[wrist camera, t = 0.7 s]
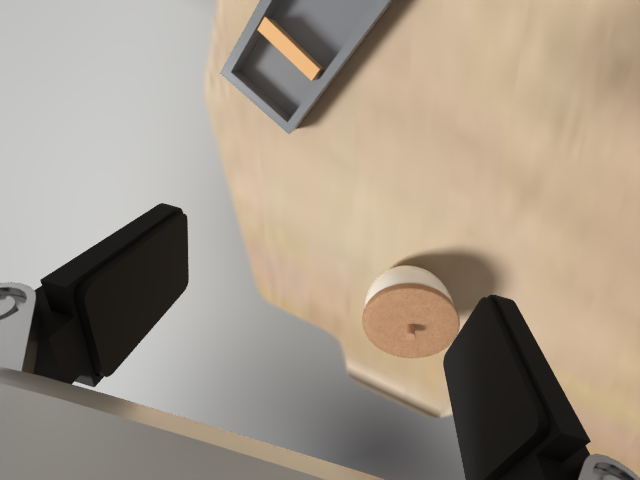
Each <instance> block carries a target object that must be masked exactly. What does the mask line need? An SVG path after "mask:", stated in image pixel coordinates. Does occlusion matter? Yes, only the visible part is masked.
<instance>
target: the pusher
mask: <svg viewBox="0 0 640 480" xmlns="http://www.w3.org/2000/svg"><path fill="white" fill-rule="evenodd" d="M257 30H258V31H259V32H260V33H261V34H262V35H264V36H265V37H266V38H267V39H268V40H269V41H270V42H271V43H272V44H273V45H274V46H275V47H276V48H277V49H278V50H279V51H280V52H281V53H283V54H284V55H285V56H286V57H287V58H288V59H289V60H290V61H291V62H292V63H293V64H294V65H295V66H296V67H297V68H298V69H299V70H300V71H301V72H303V73H304V74H305V75H306V76H307V77H308V78H309V79H310V80H311V81H313V80H317V79H318V78H319V76H320V75H321V73H322V72H323V71H324V68H323V67H322V66H321V65H320V64H319V63H318V62H317V61H316V60H315V59H314V58H313V57H312V56H311V55H310V54H309V53H308V52H307V51H306V50H305V49H304V48H302V47H301V46H300V45H299V44H298V43H297V42H296V41H295V40H294V39H293V38H292V37H291V36H290V35H289V34H288V33H287V32H286V31H285V30H284V29H283V28H282V27H281V26H280V25H279V24H278V23H277V22H276V21H274V20H272V19H269V18H267V17H264V19H263V21H262V22H261V24H260V26H259V28H258V29H257Z"/></svg>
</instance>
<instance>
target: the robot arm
mask: <svg viewBox="0 0 640 480" xmlns="http://www.w3.org/2000/svg"><path fill="white" fill-rule="evenodd" d="M187 229H188V228H187V216H186V215H185V214H183V211H182V209H181V208H178V207H175V206H171V205H167V204H163V203H161V204H159V205H157V206H156V207H154V208H152V209H151V210H150V211H148V212H146V213H145V214H143V215H142V216H140V217H138V218H137V219H135V220H134V221H132V222H130V223H129V224H127V225H126V226H124V227H123V228H121V229H119V230H118V231H116V232H115V233H113V234H112V235H110V236H109V237H107V238H105V239H104V240H102V241H101V242H99V243H98V244H96V245H94V246H93V247H91V248H90V249H88V250H87V251H85V252H83V253H82V254H80V255H79V256H77V257H76V258H74V259H72V260H71V261H69V262H68V263H66V264H65V265H63V266H61V267H60V268H58V269H57V270H55V271H54V272H52V273H50V274H49V275H47V276H46V277H44V278H43V279H41V283H42V286H41V287H39V288H37V289H36V290H33V289H32V288H31V287H29V286H27V285H24V284H21V283H12V282H11V283H0V480H385V479H381V478H378V477H375V476H372V475H369V474H365V473H362V472H359V471H356V470H353V469H350V468H346V467H343V466H340V465H337V464H333V463H330V462H327V461H323V460H320V459H317V458H314V457H311V456H307V455H304V454H301V453H298V452H295V451H291V450H288V449H285V448H282V447H278V446H275V445H272V444H268V443H265V442H262V441H258V440H256V439H252V438H249V437H246V436H242V435H239V434H236V433H233V432H230V431H226V430H223V429H220V428H216V427H213V426H210V425H206V424H203V423H199V422H196V421H193V420H190V419H187V418H183V417H180V416H176V415H173V414H170V413H167V412H163V411H160V410H157V409H154V408H150V407H147V406H144V405H140V404H137V403H133V402H130V401H127V400H124V399H120V398H117V397H114V396H110V395H107V394H103V393H100V392H96V391H93V390H89V389H85V388H82V387H79V386H75V385H72V383H73V382H74V381H75V382H79V383H82V384H85V385H88V386H92V387H95V386H96V385H97V384H98V383H99V382H100V380H101V379H102V378H103V377H104V376H105V377H108V376H110V375H111V374H113V373H114V372H115V370H116V369H117V368H118V367H119V366H120V365H121V363H122V362H123V361H124V360H125V359H126V358H127V357H128V355H129V354H130V353H131V352H132V351H133V350H134V348H135V347H136V346H137V345H138V343H140V341H141V340H142V339H143V338H144V337H145V336H146V335H147V334H148V332H149V331H150V330H151V329H152V328H153V326H154V325H155V324H156V323H157V322H158V321H159V320H160V318H161V317H162V316H163V315H164V314H165V313H166V312H167V310H168V309H169V308H170V307H171V306H172V304H174V302H175V301H176V300H177V299H178V298H179V297H180V295H181V294H182V293H183V292H184V291H185V289H186V287H187V285H188V230H187ZM443 365H444V371H445V376H446V381H447V386H448V391H449V396H450V401H451V406H452V412H453V417H454V421H455V427H456V432H457V437H458V442H459V447H460V452H461V457H462V462H463V468H464V473H465V478H466V480H640V478H639V477H638V476H637V475H636V474H635V473H634V472H633V471H631V470H630V469H629V468H627V467H626V466H624V465H623V464H621V463H620V462H618V461H616V460H614V459H612V458H610V457H608V456H604V455H600V454H593V455H590V453H589V452H588V450H587V448H586V446H585V445H587V444H588V443H589V442H591V441H590V439H589V437H588V436H587V434H586V432H585V430H584V428H583V426H582V425H581V423H580V421H579V419H578V417H577V415H576V414H575V412H574V410H573V408H572V406H571V404H570V403H569V401H568V399H567V397H566V395H565V393H564V391H563V390H562V388H561V386H560V384H559V382H558V380H557V379H556V377H555V375H554V373H553V371H552V369H551V368H550V366H549V364H548V362H547V360H546V358H545V357H544V355H543V353H542V351H541V349H540V347H539V346H538V344H537V342H536V340H535V338H534V336H533V335H532V333H531V331H530V329H529V327H528V325H527V324H526V322H525V320H524V318H523V316H522V314H521V312H520V311H519V309H518V307H517V305H516V303H515V302H514V301H513V300H511V299H507V298H504V297H500V296H497V295H490V296H488V297H487V298H486V297H483V298H482V299H481V300H480V301H479V303H478V304H477V306H476V307H475V309H474V311H473V312H472V314H471V315H470V317H469V318H468V320H467V321H466V323H465V324H464V326H463V328H462V329H461V331H460V332H459V334H458V335H457V337H456V338H455V340H454V341H453V343H452V345H451V346H450V348H449V349H448V351H447V352H446V354H445V356H444V361H443Z"/></svg>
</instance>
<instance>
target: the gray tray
mask: <svg viewBox="0 0 640 480" xmlns="http://www.w3.org/2000/svg"><path fill="white" fill-rule="evenodd" d="M392 1H393V0H260V2H259V3H258V5H257V7H256V9H255V11H254V12H253V14H252V16H251V18H250V20H249V21H248V23H247V25H246V27H245V29H244V31H243V32H242V34H241V36H240V38H239V40H238V41H237V43H236V45H235V47H234V49H233V50H232V52H231V54H230V56H229V58H228V59H227V61H226V63H225V65H224V67H223V69H222V70H221V72H220V74H222V75H223V76H224V77H225V78H226V79H227V80H228V81H229V82H231V83H232V84H233V85H234V86H235V87H236V88H237V89H238V90H240V91H241V92H242V93H243V94H244V95H245V96H246V97H248V98H249V99H250V100H251V101H252V102H253V103H254V104H255V105H257V106H258V107H259V108H260V109H261V110H262V111H263V112H264V113H266V114H267V115H268V116H269V117H270V118H271V119H272V120H274V121H275V122H276V123H277V124H278V125H279V126H280V127H281V128H283V129H284V130H285V131H286V132H287V133H288V134H290V133H291V132H293V131H294V130H295V129H296V128H297V127H298V126H299V124H300V123H301V122H302V120H303V119H304V118H305V116H306V115H307V114H308V112H309V111H310V110H311V108H312V107H313V106H314V104H315V103H316V102H317V100H318V99H319V98H320V97H321V95H322V94H323V93H324V91H325V90H326V89H327V87H328V86H329V85H330V83H331V82H332V81H333V79H334V78H335V77H336V75H337V74H338V73H339V71H340V70H341V69H342V67H343V66H344V65H345V64H346V62H347V61H348V60H349V58H350V57H351V56H352V54H353V53H354V52H355V50H356V49H357V48H358V46H359V45H360V44H361V42H362V41H363V40H364V38H365V37H366V36H367V34H368V33H369V32H370V31H371V29H372V28H373V27H374V25H375V24H376V23H377V21H378V20H379V19H380V17H381V16H382V15H383V13H384V12H385V11H386V9H387V8H388V7H389V5H390V4H391V3H392ZM264 17H267V18H269V19H272V20H274V21H276V22H277V23H278V24H279V25H280V26H281V27H282V28H283V29H284V30H285V31H286V32H287V33H288V34H289V35H290V36H291V37H292V38H293V39H294V40H295V41H296V42H297V43H298V44H299V45H300V46H301V47H302V48H304V49H305V50H306V51H307V52H308V53H309V54H310V55H311V56H312V57H313V58H314V59H315V60H316V61H317V62H318V63H319V64H320V65H321V66H322V67H323V68H324V71H323V72H322V73H321V75H320V76H319V78H318V79H317V80H313V81H311V80H310V79H309V78H308V77H307V76H306V75H305V74H304V73H303V72H301V71H300V70H299V69H298V68H297V67H296V66H295V65H294V64H293V63H292V62H291V61H290V60H289V59H288V58H287V57H286V56H285V55H284V54H283V53H281V52H280V51H279V50H278V49H277V48H276V47H275V46H274V45H273V44H272V43H271V42H270V41H269V40H268V39H267V38H266V37H265V36H264V35H262V34H261V33H260V32H259V31H258V30H257V29H258V28H259V26H260V24H261V22H262V21H263V19H264Z"/></svg>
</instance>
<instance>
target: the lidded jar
mask: <svg viewBox="0 0 640 480" xmlns="http://www.w3.org/2000/svg"><path fill="white" fill-rule="evenodd" d="M459 326H460V321H459V316H458V313H457V310H456V308H455V306H454V304H453V301H452V298H451V296H450V294H449V292H448V290H447V289H446V287H445V286H444V284H443V283H442V282H441V281H440V279H438V278H437V277H436V276H435V275H434V274H432V273H431V272H429V271H427V270H425V269H423V268H420V267H416V266H406V265H404V266H397V267H393V268H391V269H389V270H387V271H385V272H383V273H382V274H381V275H379V276H378V277H377V278H376V279H375V281H374V282H373V283H372V285H371V286H370V289H369V291H368V293H367V297H366V301H365V307H364V312H363V329H364V332H365V334H366V336H367V337H368V339H369V340H370V341H371V342H372V343H373V344H374V345H375V346H376V347H378V348H379V349H380V350H382V351H384V352H386V353H388V354H391V355H394V356H398V357H404V358H421V357H427V356H430V355H433V354H436V353H438V352H440V351H442V350H444V349H445V348H446V347H448V346H449V345H450V344H451V343H452V342H453V341H454V339H455V337H456V336H457V334H458V331H459Z"/></svg>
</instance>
